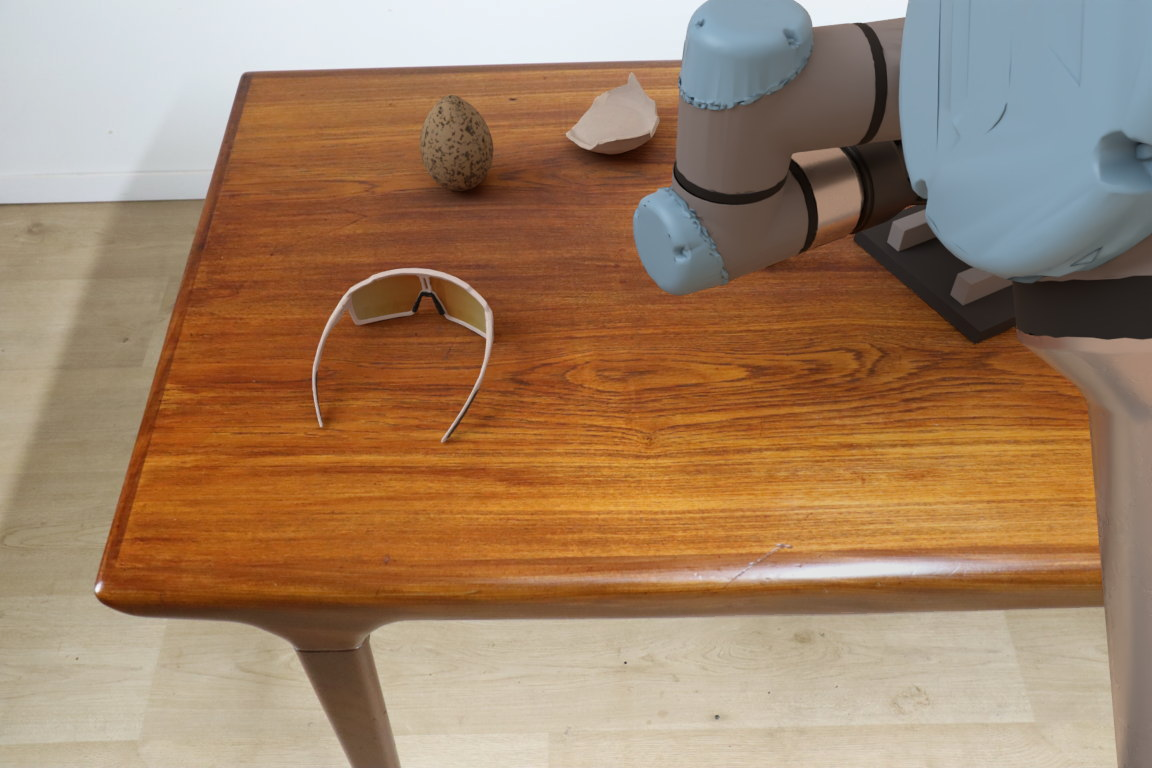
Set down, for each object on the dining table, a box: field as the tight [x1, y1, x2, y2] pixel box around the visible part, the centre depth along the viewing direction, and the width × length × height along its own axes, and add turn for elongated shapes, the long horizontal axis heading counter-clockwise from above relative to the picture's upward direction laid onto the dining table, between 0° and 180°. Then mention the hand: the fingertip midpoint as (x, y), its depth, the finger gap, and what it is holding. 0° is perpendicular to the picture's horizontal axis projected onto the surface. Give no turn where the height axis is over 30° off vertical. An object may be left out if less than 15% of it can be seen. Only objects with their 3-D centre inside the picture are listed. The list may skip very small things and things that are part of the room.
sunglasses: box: [311, 267, 495, 444], centre depth 77 cm, size 14×15×5 cm
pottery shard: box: [565, 71, 661, 155], centre depth 99 cm, size 10×11×5 cm
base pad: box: [852, 205, 1016, 345], centre depth 85 cm, size 16×12×4 cm
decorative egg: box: [419, 94, 494, 192], centre depth 93 cm, size 7×7×10 cm
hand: (1062, 106), depth 77 cm, fingers closed on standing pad, 5 cm apart
